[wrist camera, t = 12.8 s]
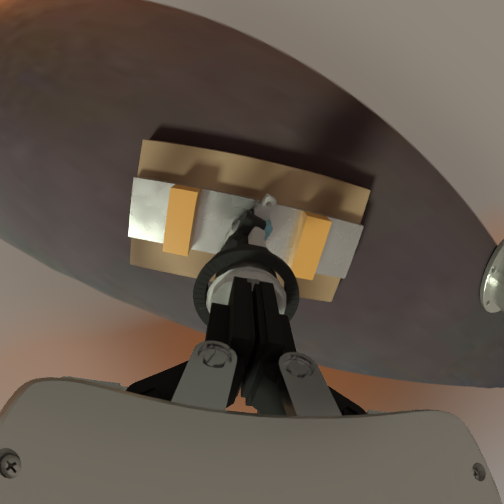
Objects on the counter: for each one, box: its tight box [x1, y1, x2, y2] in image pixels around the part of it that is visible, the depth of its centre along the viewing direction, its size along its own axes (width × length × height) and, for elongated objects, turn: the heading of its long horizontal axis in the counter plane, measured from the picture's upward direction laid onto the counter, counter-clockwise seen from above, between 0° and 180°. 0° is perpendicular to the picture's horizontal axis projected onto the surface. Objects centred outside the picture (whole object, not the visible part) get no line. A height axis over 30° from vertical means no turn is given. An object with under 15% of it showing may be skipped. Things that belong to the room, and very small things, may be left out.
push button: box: [193, 194, 299, 326], centre depth 17 cm, size 7×5×10 cm
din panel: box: [130, 140, 370, 302], centre depth 23 cm, size 19×11×2 cm, turn 77°
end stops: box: [163, 184, 332, 280], centre depth 21 cm, size 12×5×2 cm, turn 77°
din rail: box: [128, 176, 364, 279], centre depth 22 cm, size 19×5×1 cm, turn 77°
